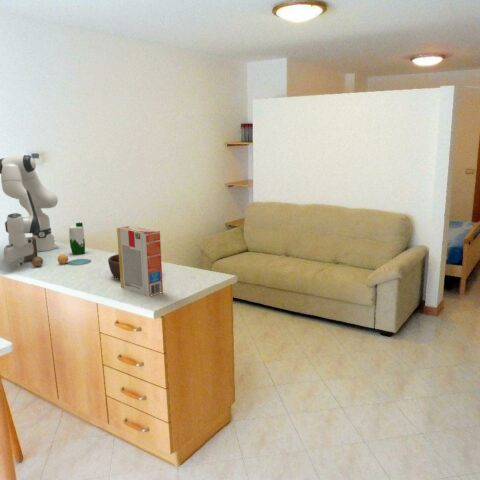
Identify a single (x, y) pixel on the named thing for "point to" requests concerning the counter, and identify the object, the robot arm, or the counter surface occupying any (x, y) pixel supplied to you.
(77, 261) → the teal mark
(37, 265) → the walnut ball
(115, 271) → the wooden bowl
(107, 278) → the counter surface
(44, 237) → the robot arm
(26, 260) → the pillar candle
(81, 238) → the milk carton
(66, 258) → the orange ball
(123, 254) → the cereal box
